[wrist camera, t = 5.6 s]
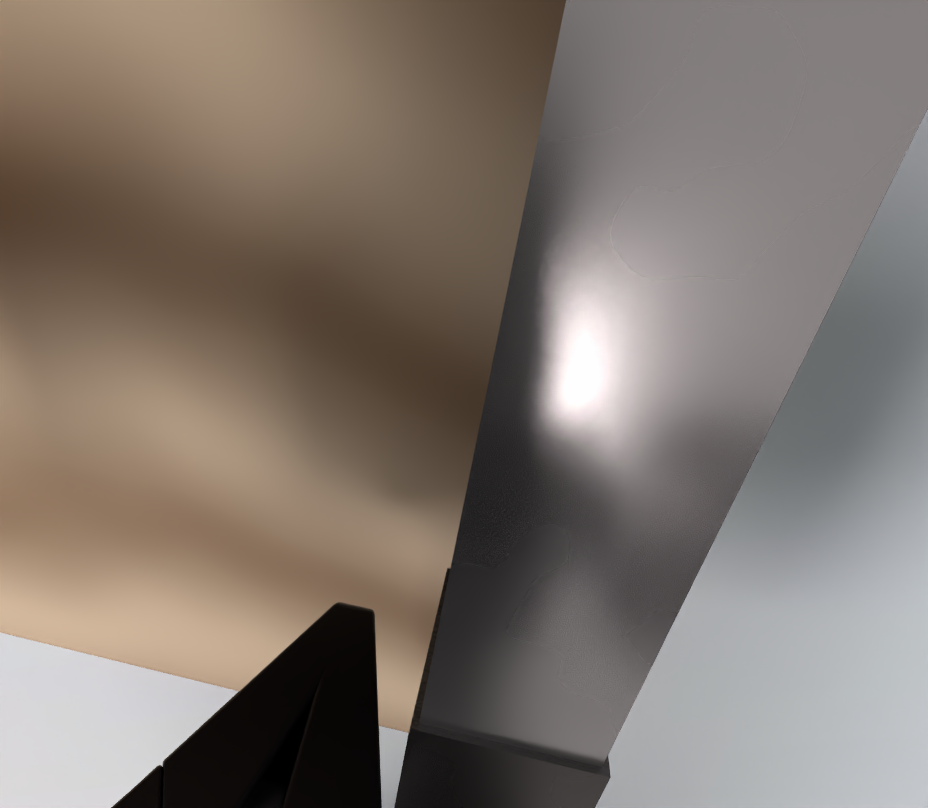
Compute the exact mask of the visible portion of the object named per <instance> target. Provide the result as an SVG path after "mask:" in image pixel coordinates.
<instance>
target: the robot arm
mask: <svg viewBox="0 0 928 808" xmlns="http://www.w3.org/2000/svg"><path fill="white" fill-rule="evenodd" d="M111 808H382V805H381V776H380V748H379V719H378V691H377V662H376V634H375V612H374V610H373V609H369V608H365V607H360V606H356V605H352V604H347V603H343V602H338V603H335V604H334V605H333V606H331V607H330V608H329V609H328V610H327V611H326V612H325V613H324V614H323V615H322V616H321V617H320V618H318V619H317V620H316V621H315V622H314V623H313V624H312V625H311V626H310V627H309V628H308V629H306V630H305V631H304V632H303V633H302V634H301V635H300V636H299V637H298V638H297V639H296V640H294V641H293V642H292V643H291V644H290V645H289V646H288V647H287V648H286V649H285V650H284V651H283V652H281V653H280V654H279V655H278V656H277V657H276V658H275V659H274V660H273V661H272V662H271V663H269V664H268V665H267V666H266V667H265V668H264V669H263V670H262V671H261V672H260V673H259V674H257V675H256V676H255V677H254V678H253V679H252V680H251V681H250V682H249V683H248V684H247V685H245V686H244V687H243V688H242V689H241V690H240V691H239V692H238V693H237V694H236V695H235V696H234V697H232V698H231V699H230V700H229V701H228V702H227V703H226V704H225V705H224V706H223V707H222V708H220V709H219V710H218V711H217V712H216V713H215V714H214V715H213V716H212V717H211V718H210V719H208V720H207V721H206V722H205V723H204V724H203V725H202V726H201V727H200V728H199V729H198V730H197V731H195V732H194V733H193V734H192V735H191V736H190V737H189V738H188V739H187V740H186V741H185V742H183V743H182V744H181V745H180V746H179V747H178V748H177V749H176V750H175V751H174V752H173V753H171V754H170V755H169V756H168V757H167V758H166V759H165V760H164V761H163V767H162V766H161V765H159V766H157V767H156V768H155V769H154V770H153V771H152V772H150V773H149V774H148V775H147V776H146V777H145V778H144V779H143V780H142V781H141V782H140V783H139V784H137V785H136V786H135V787H134V788H133V789H132V790H131V791H130V792H129V793H127V794H126V795H125V796H124V797H123V798H122V799H121V800H119V801H118V802H117V803H116V804H115V805H114V806H113V807H111Z"/></svg>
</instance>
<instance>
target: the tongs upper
mask: <svg viewBox="0 0 928 808" xmlns="http://www.w3.org/2000/svg"><path fill="white" fill-rule="evenodd" d="M927 109H928V0H566V3H565V8H564V13H563V18H562V23H561V28H560V33H559V38H558V43H557V48H556V53H555V57H554V62H553V67H552V72H551V77H550V82H549V87H548V92H547V97H546V102H545V107H544V111H543V116H542V121H541V126H540V131H539V136H538V141H537V146H536V151H535V156H534V161H533V165H532V170H531V175H530V180H529V185H528V190H527V195H526V200H525V205H524V210H523V215H522V220H521V224H520V229H519V234H518V239H517V244H516V249H515V254H514V259H513V264H512V269H511V274H510V278H509V283H508V288H507V293H506V298H505V303H504V308H503V313H502V318H501V323H500V328H499V332H498V337H497V342H496V347H495V352H494V357H493V362H492V367H491V372H490V377H489V382H488V386H487V391H486V396H485V401H484V406H483V411H482V416H481V421H480V426H479V431H478V436H477V440H476V445H475V450H474V455H473V460H472V465H471V470H470V475H469V480H468V485H467V490H466V495H465V499H464V504H463V509H462V514H461V519H460V524H459V529H458V534H457V539H456V544H455V549H454V553H453V558H452V563H451V568H450V569H449V568H447V572H446V576H445V580H444V584H443V589H442V593H441V597H440V602H439V606H438V610H437V614H436V619H435V623H434V627H433V631H432V636H431V640H430V644H429V649H428V653H427V657H426V661H425V666H424V670H423V674H422V678H421V683H420V687H419V691H418V696H417V700H416V704H415V708H414V713H413V717H412V721H411V725H410V730H409V735H408V740H407V746H406V751H405V756H404V761H403V766H402V772H401V777H400V782H399V787H398V792H397V798H396V803H395V808H595V806H596V804H597V802H598V800H599V799H600V797H601V795H602V793H603V791H604V789H605V787H606V785H607V783H608V781H609V779H610V769H609V759H608V754H609V752H610V750H611V748H612V746H613V744H614V742H615V740H616V738H617V736H618V733H619V731H620V729H621V727H622V725H623V723H624V721H625V719H626V717H627V715H628V713H629V711H630V709H631V707H632V705H633V703H634V701H635V699H636V697H637V695H638V693H639V691H640V689H641V687H642V685H643V683H644V681H645V679H646V677H647V675H648V673H649V671H650V669H651V667H652V665H653V663H654V661H655V659H656V657H657V655H658V653H659V651H660V649H661V647H662V645H663V643H664V640H665V638H666V636H667V634H668V632H669V630H670V628H671V626H672V624H673V622H674V620H675V618H676V616H677V614H678V612H679V610H680V608H681V606H682V604H683V602H684V600H685V598H686V596H687V594H688V592H689V590H690V588H691V586H692V584H693V582H694V580H695V578H696V576H697V574H698V572H699V570H700V568H701V566H702V564H703V562H704V560H705V558H706V556H707V554H708V552H709V550H710V547H711V545H712V543H713V541H714V539H715V537H716V535H717V533H718V531H719V529H720V527H721V525H722V523H723V521H724V519H725V517H726V515H727V513H728V511H729V509H730V507H731V505H732V503H733V501H734V499H735V497H736V495H737V493H738V491H739V489H740V487H741V485H742V483H743V481H744V479H745V477H746V475H747V473H748V471H749V469H750V467H751V465H752V463H753V461H754V459H755V457H756V454H757V452H758V450H759V448H760V446H761V444H762V442H763V440H764V438H765V436H766V434H767V432H768V430H769V428H770V426H771V424H772V422H773V420H774V418H775V416H776V414H777V412H778V410H779V408H780V406H781V404H782V402H783V400H784V398H785V396H786V394H787V392H788V390H789V388H790V386H791V384H792V382H793V380H794V378H795V376H796V374H797V372H798V370H799V368H800V366H801V363H802V361H803V359H804V357H805V355H806V353H807V351H808V349H809V347H810V345H811V343H812V341H813V339H814V337H815V335H816V333H817V331H818V329H819V327H820V325H821V323H822V321H823V319H824V317H825V315H826V313H827V311H828V309H829V307H830V305H831V303H832V301H833V299H834V297H835V295H836V293H837V291H838V289H839V287H840V285H841V283H842V281H843V279H844V277H845V275H846V273H847V270H848V268H849V266H850V264H851V262H852V260H853V258H854V256H855V254H856V252H857V250H858V248H859V246H860V244H861V242H862V240H863V238H864V236H865V234H866V232H867V230H868V228H869V226H870V224H871V222H872V220H873V218H874V216H875V214H876V212H877V210H878V208H879V206H880V204H881V202H882V200H883V198H884V196H885V194H886V192H887V190H888V188H889V186H890V184H891V182H892V180H893V177H894V175H895V173H896V171H897V169H898V167H899V165H900V163H901V161H902V159H903V157H904V155H905V153H906V151H907V149H908V147H909V145H910V143H911V141H912V139H913V137H914V135H915V133H916V131H917V129H918V127H919V125H920V123H921V121H922V119H923V117H924V115H925V113H926V111H927Z"/></svg>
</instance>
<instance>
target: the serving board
mask: <svg viewBox="0 0 928 808" xmlns="http://www.w3.org/2000/svg"><path fill="white" fill-rule="evenodd" d="M565 3H566V0H0V632H1V633H5V634H9V635H13V636H17V637H21V638H25V639H29V640H33V641H37V642H41V643H45V644H49V645H54V646H58V647H62V648H66V649H70V650H74V651H78V652H82V653H86V654H90V655H94V656H98V657H102V658H106V659H111V660H115V661H119V662H123V663H127V664H131V665H135V666H139V667H143V668H147V669H151V670H155V671H159V672H163V673H168V674H172V675H176V676H180V677H184V678H188V679H192V680H196V681H200V682H204V683H208V684H212V685H216V686H220V687H225V688H229V689H233V690H237V691H240V690H241V689H242V688H243V687H244V686H245V685H247V684H248V683H249V682H250V681H251V680H252V679H253V678H254V677H255V676H256V675H257V674H259V673H260V672H261V671H262V670H263V669H264V668H265V667H266V666H267V665H268V664H269V663H271V662H272V661H273V660H274V659H275V658H276V657H277V656H278V655H279V654H280V653H281V652H283V651H284V650H285V649H286V648H287V647H288V646H289V645H290V644H291V643H292V642H293V641H294V640H296V639H297V638H298V637H299V636H300V635H301V634H302V633H303V632H304V631H305V630H306V629H308V628H309V627H310V626H311V625H312V624H313V623H314V622H315V621H316V620H317V619H318V618H320V617H321V616H322V615H323V614H324V613H325V612H326V611H327V610H328V609H329V608H330V607H331V606H333V605H334V604H335V603H338V602H343V603H347V604H352V605H356V606H360V607H365V608H369V609H373V610H374V612H375V634H376V662H377V691H378V719H379V726H383V727H387V728H392V729H396V730H400V731H404V732H408V733H409V730H410V725H411V721H412V717H413V713H414V708H415V704H416V700H417V696H418V691H419V687H420V683H421V678H422V674H423V670H424V666H425V661H426V657H427V653H428V649H429V644H430V640H431V636H432V631H433V627H434V623H435V619H436V614H437V610H438V606H439V602H440V597H441V593H442V589H443V584H444V580H445V576H446V572H447V568H449V569H450V568H451V563H452V558H453V553H454V549H455V544H456V539H457V534H458V529H459V524H460V519H461V514H462V509H463V504H464V499H465V495H466V490H467V485H468V480H469V475H470V470H471V465H472V460H473V455H474V450H475V445H476V440H477V436H478V431H479V426H480V421H481V416H482V411H483V406H484V401H485V396H486V391H487V386H488V382H489V377H490V372H491V367H492V362H493V357H494V352H495V347H496V342H497V337H498V332H499V328H500V323H501V318H502V313H503V308H504V303H505V298H506V293H507V288H508V283H509V278H510V274H511V269H512V264H513V259H514V254H515V249H516V244H517V239H518V234H519V229H520V224H521V220H522V215H523V210H524V205H525V200H526V195H527V190H528V185H529V180H530V175H531V170H532V165H533V161H534V156H535V151H536V146H537V141H538V136H539V131H540V126H541V121H542V116H543V111H544V107H545V102H546V97H547V92H548V87H549V82H550V77H551V72H552V67H553V62H554V57H555V53H556V48H557V43H558V38H559V33H560V28H561V23H562V18H563V13H564V8H565Z"/></svg>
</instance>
